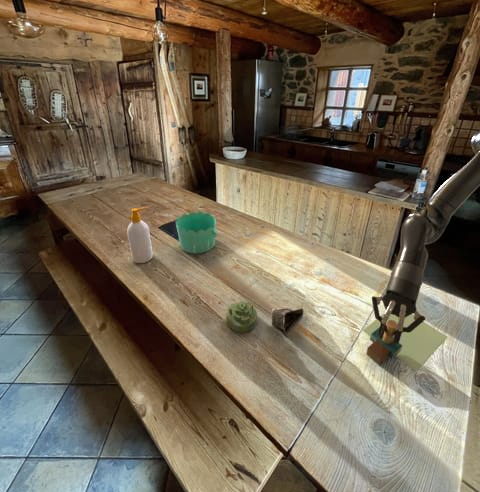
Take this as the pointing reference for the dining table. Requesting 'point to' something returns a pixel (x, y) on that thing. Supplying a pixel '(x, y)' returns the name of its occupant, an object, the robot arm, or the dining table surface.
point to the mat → (413, 341)
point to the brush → (388, 338)
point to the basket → (196, 232)
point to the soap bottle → (139, 238)
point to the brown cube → (378, 352)
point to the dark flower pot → (286, 318)
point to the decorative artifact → (241, 316)
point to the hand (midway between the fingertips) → (386, 341)
